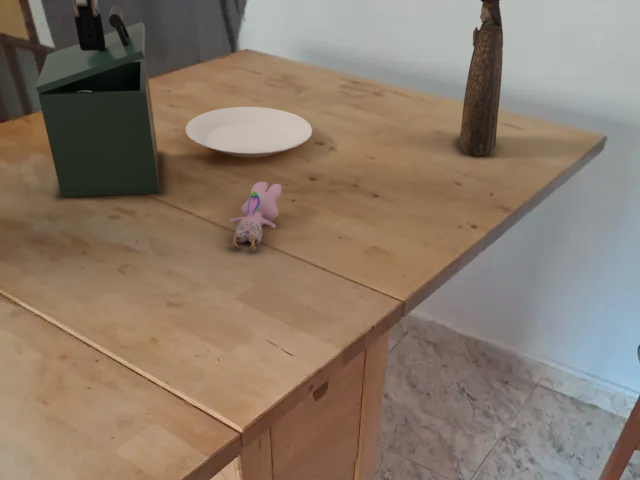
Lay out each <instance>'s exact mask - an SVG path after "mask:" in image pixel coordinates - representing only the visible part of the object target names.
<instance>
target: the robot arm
mask: <svg viewBox="0 0 640 480" xmlns="http://www.w3.org/2000/svg"><path fill="white" fill-rule="evenodd" d="M71 1H72V5H73V11H74V22H75V28H76V33H77V38H78V44H80V49H81V50H83V51H98V50H104V49H105V38H104V35H105V33H104V27H103V21H102V14H101V13H100V11H99V5H98V0H71Z"/></svg>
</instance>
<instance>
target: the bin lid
mask: <svg viewBox="0 0 640 480" xmlns="http://www.w3.org/2000/svg"><path fill="white" fill-rule="evenodd" d="M123 17H124V11H123V8H122V7H121V6H120V5H117V4H114V5H112V6H111V8H110V11H109V18H108V22H109V24H110V26H111V27H112V28H113V29H115V30H114V31H111V32H109V33H105V34H104V38H105V49H104V50H98V51H83V50H81V49H80V44H79V43H77V44H74V45H71V46H68V47H66V48H65V47H64V48H63V49H59V50H57V51H54V52H52V53H48V54H47V55H46V58H45V61H44V63H43V66H42V68H41V72H40V74H39V77H38V79H37V82H36V86H35V90H36V91H37V93H38V94H40V93H43V92H46V91H49V90H52V89H55V88H58V87H61V86H63V85H66V84H69V83H72V82H75V81H78V80H81V79H84V78H87V77H90V76H92V75H95V74H98V73H101V72H104V71H107V70H110V69H113V68H116V67H119V66H121V65H124V64H127V63H130V62H133V61H136V60H143V59H145V58H146V53H145V50H146V49H145V48H146V26H145V24H144V22H143V21H141V22H138V23H135V24H132V25H128V26H126V25H125V22H124V20H123Z"/></svg>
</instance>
